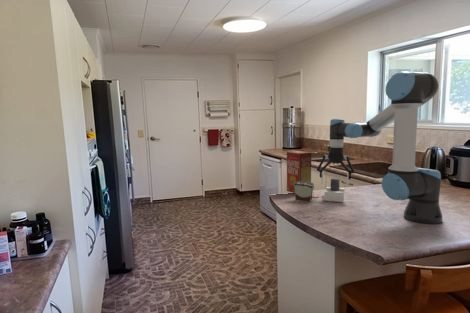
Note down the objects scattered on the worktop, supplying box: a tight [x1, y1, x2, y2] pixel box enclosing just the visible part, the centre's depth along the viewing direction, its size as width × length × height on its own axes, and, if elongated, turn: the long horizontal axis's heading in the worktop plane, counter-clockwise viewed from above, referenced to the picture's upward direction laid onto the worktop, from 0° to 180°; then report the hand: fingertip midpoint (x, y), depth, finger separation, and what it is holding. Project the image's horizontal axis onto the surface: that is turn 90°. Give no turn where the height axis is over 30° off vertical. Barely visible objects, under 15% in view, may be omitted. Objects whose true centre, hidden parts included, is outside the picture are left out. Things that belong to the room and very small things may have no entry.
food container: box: [293, 181, 315, 204], centre depth 178 cm, size 12×6×10 cm, turn 47°
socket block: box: [323, 186, 346, 203], centre depth 182 cm, size 13×10×5 cm
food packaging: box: [286, 150, 312, 194], centre depth 196 cm, size 13×9×25 cm
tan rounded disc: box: [312, 193, 320, 199], centre depth 187 cm, size 7×7×1 cm
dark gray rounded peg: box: [330, 178, 341, 191], centre depth 181 cm, size 5×5×11 cm
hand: (334, 184), depth 181 cm, fingers open, 13 cm apart
